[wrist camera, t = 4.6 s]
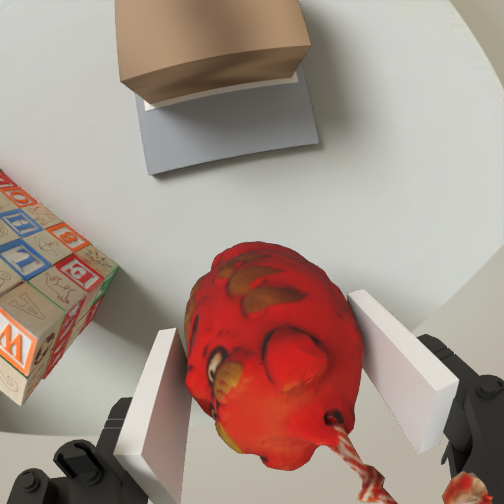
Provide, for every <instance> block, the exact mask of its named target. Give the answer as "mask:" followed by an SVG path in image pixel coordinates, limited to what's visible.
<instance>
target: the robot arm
mask: <svg viewBox="0 0 504 504" xmlns="http://www.w3.org/2000/svg"><path fill="white" fill-rule="evenodd" d="M347 302H348V305H349V307H350V309H351V311H352V313H353V316H354V319H355V321H356V323H357V326H358V328H359V330H360V333H361V338H362V344H363V359H362V367H363V369H364V370H365V372H366V373H367V375H368V377H369V378H370V379H371V381H372V383H373V384H374V386H375V387H376V389H377V390H378V392H379V393H380V395H381V396H382V398H383V400H384V401H385V403H386V404H387V406H388V407H389V408H390V410H391V412H392V414H393V415H394V417H395V418H396V419H397V421H398V423H399V425H400V426H401V428H402V429H403V431H404V432H405V434H406V436H407V437H408V439H409V440H410V442H411V444H412V445H413V447H414V448H415V450H416V452H417V453H418V454H421V453H423V452H425V451H427V450H429V449H431V448H433V447H435V446H437V445H439V444H440V441H441V438H442V436H443V433H444V434H445V435H446V437H447V438H448V439H449V442H448V445H447V447H446V450H445V453H444V455H443V457H442V461H441V465H442V464H444V463H445V461H446V459H447V457H448V460H449V466H450V473H451V479H452V478H454V477H455V476H457V475H458V474H460V473H461V472H462V471H464V472H466V473H472V472H473V473H474V474H475V475H476V476H477V477H478V478H479V479H480V480H481V481H482V482H483V483H484V485H485V486H486V489H487V491H488V495H489V496H492V497H493V498H492V500H491V502H492V504H504V381H503V380H502V379H501V378H498V377H497V376H493V375H481V376H479V375H478V374H477V373H476V372H475V371H474V370H473V369H471V368H470V367H469V366H468V365H467V364H466V363H465V362H464V361H463V360H461V359H460V358H459V357H458V356H457V355H456V354H454V352H453V351H451V350H450V349H449V348H447V346H446V345H445V344H444V343H442V342H441V341H440V340H439V339H437V338H435V337H432V336H430V335H428V334H424V335H422V336H419V337H415V336H414V335H413V334H412V333H411V332H410V331H409V330H407V329H406V328H405V327H404V326H403V325H402V324H401V323H400V322H399V321H398V320H397V319H396V318H395V317H394V316H392V315H391V314H390V313H389V312H388V311H387V310H386V309H385V308H384V307H383V306H382V305H381V304H379V303H378V302H377V301H376V300H375V299H374V298H373V297H372V296H371V295H369V294H368V293H367V292H366V291H365V290H364V289H362V290H358V291H354V292H350V293H347ZM187 366H188V364H187V358H186V355H185V352H184V349H183V346H182V343H181V340H180V337H179V334H178V331H177V328H171V329H165V330H159V332H158V334H157V337H156V339H155V342H154V344H153V347H152V349H151V352H150V354H149V357H148V359H147V362H146V364H145V367H144V370H143V372H142V375H141V377H140V380H139V383H138V385H137V388H136V391H135V393H134V396H133V397H128V398H121V399H120V400H119V401H118V402H117V403H116V404H115V405H114V406H113V407H112V409H111V411H110V414H109V416H108V420H107V421H106V423H105V426H104V429H103V430H102V433H101V435H100V438H99V440H98V443H97V445H96V447H95V446H94V445H93V444H92V443H91V442H89V441H86V440H83V439H82V440H73V441H70V442H67V443H65V444H64V445H63V446H61V447H60V448H59V449H58V450H57V452H56V453H55V455H54V459H53V461H54V462H55V463H56V465H57V466H58V467H59V468H60V469H61V470H62V472H64V474H65V475H66V476H67V477H59V478H51V479H50V478H49V477H48V476H47V475H46V474H45V473H44V472H43V471H42V470H40V469H37V468H32V469H27V470H25V471H23V472H22V473H21V474H20V475H18V477H17V479H16V480H15V482H14V485H13V488H12V490H11V493H10V496H9V499H8V501H7V504H147V503H148V498H149V499H150V500H151V501H152V502H153V503H154V504H180V500H181V491H182V481H183V471H184V470H183V469H184V461H185V452H186V443H187V434H188V426H189V418H190V410H191V402H192V396H191V394H190V392H189V390H188V388H187V386H186V384H185V380H186V375H187Z"/></svg>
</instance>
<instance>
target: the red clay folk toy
mask: <svg viewBox="0 0 504 504" xmlns="http://www.w3.org/2000/svg"><path fill="white" fill-rule="evenodd" d="M184 332H185V338H186V343H187V364H188V366H187V375H186V380H185V384H186V386H187V388H188V390H189V392H190V394H191V396H193V398H194V399H195V400H196V401H197V403H198V404H199V405H200V406H201V408H202V409H203V411H204V412H205V413H206V414H208V415H209V416H210V417H212V418H213V419H214V420H215V426H216V430H217V432H218V435H219V436H220V437H221V439H222V440H223V441H224V442H225V443H226V444H227V445H228V446H229V447H231V448H232V449H233V450H234V451H236V452H237V453H241V454H255V455H258V456H260V458H261V460H262V462H263V463H264V464H265V465H266V466H267V467H270V468H273V469H279V470H286V471H293V470H295V469H297V468H299V467H301V466H303V465H304V464H306V463H307V462H308V461H309V460H310V458H311V457H312V455H313V453H314V451H315V450H316V448H318V447H319V446H320V445H326V446H328V447H329V448H330V449H331V450H333V451H334V452H335V453H336V454H337V455H339V456H340V457H341V458H342V459H343V460H344V461H345V462H346V463H347V464H348V465H349V466H350V467H351V468H352V469H353V470H354V471H356V472H357V473H358V474H359V476H360V478H361V480H362V482H363V483H362V490H361V492H360V493H359V495H358V497H357V500H358V501H361V502H363V503H365V502H366V503H375V502H376V503H381V504H398V503H397V502H396V501H395V500H394V499H393V498H392V497H391V496H390V494H389V493H388V492H387V491H386V490H385V489H384V488H383V484H384V479H385V478H384V477H383V475H381V474H380V473H379V472H378V471H377V470H376V469H375V468H374V467H373V466H369V465H366V464H363V462H362V461H361V459H360V457H359V456H358V454H357V452H356V450H355V449H354V447H353V445H352V443H351V441H350V440H349V438H348V436H347V435H348V434H349V433H350V432H351V431H352V430H353V428H354V423H355V414H354V406H355V402H356V398H357V395H358V392H359V386H360V380H361V371H362V359H363V344H362V338H361V333H360V330H359V328H358V326H357V323H356V321H355V319H354V316H353V313H352V311H351V309H350V307H349V305H348V303H347V301H346V299H345V297H344V296H343V294H342V292H341V291H340V289H339V288H338V287H337V286H336V285H335V284H334V283H332V282H331V281H330V279H329V278H328V276H327V275H326V273H325V272H324V270H322V269H321V268H319V267H318V266H316V265H315V264H313V263H311V262H309V261H308V260H306V259H305V258H304V257H303V256H301V255H300V254H299V253H297V252H296V251H293V250H292V249H290V248H287V247H284V246H281V245H278V244H271V243H265V242H260V241H257V242H244V243H240V244H237V245H234V246H233V247H232V248H228V249H226V250H225V251H223V252H222V253H220V254H218V255H217V256H216V257H215V258H214V261H213V263H212V267H211V271H210V272H209V273H207V274H206V275H204V276H202V277H201V278H200V279H198V281H197V282H196V284H195V285H194V287H193V288H192V290H191V293H190V299H189V301H188V303H187V306H186V312H185V322H184ZM442 498H443V501H444V504H492V502H491V500H492V498H493V497H492V496H489V495H488V491H487V489H486V486H485V485H484V483H483V482H482V481H481V480H480V479H479V478H478V477H477V476H476V475H475V474H474V473H473V472H472V473H466V472H464V471H462V472H461V473H460V474H458V475H457V476H455V477H454V478H452V479H451V481H450V483H449V485H448V486H447V488H446V490H445V492H444V494H443V495H442Z"/></svg>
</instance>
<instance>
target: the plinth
mask: <svg viewBox="0 0 504 504" xmlns="http://www.w3.org/2000/svg"><path fill="white" fill-rule="evenodd" d="M115 23H116V40H117V53H118V65H119V75H120V82H122V83H123V84H124V85H126V86H127V87H128V88H129V89H131V90H132V91H133V92H135V93H136V94H137V95H139V96H140V97H141V98H142V99H144V100H145V101H146V102H148V103H149V104H153V103H157V102H161V101H164V100H168V99H172V98H176V97H180V96H184V95H189V94H193V93H197V92H202V91H207V90H212V89H217V88H222V87H227V86H233V85H239V84H245V83H252V82H259V81H266V80H274V79H283V78H292V76H293V75H294V73H295V71H296V70H297V68H298V66H299V65H300V63H301V61H302V60H303V58H304V57H305V55H306V53H307V52H308V50H309V48H310V47H311V42H310V38H309V35H308V31H307V28H306V24H305V21H304V18H303V14H302V11H301V8H300V5H299V1H298V0H115Z"/></svg>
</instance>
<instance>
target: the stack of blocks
mask: <svg viewBox="0 0 504 504" xmlns="http://www.w3.org/2000/svg"><path fill="white" fill-rule="evenodd" d="M118 267H119V265H118V264H116V263H115V262H114V261H112V260H111V259H110V258H108V257H107V256H105V255H104V254H103V253H101V252H100V251H99V250H98V249H96V248H95V247H94V246H92V245H91V244H90V242H89V241H87V240H86V239H85V238H83V237H82V236H81V235H79V234H78V233H77V232H76V231H74V230H73V229H72V228H70V227H69V226H68V225H67V224H65V223H64V222H63V221H62V220H60V219H59V218H58V217H57V216H56V215H54V214H53V213H52V212H51V211H50V210H48V209H47V208H46V207H45V206H43V205H42V204H40V203H38V202H37V201H36V200H34V199H33V198H32V197H30V196H29V195H28V194H27V193H26V192H25V191H24V190H23V189H21V188H20V187H18V186H17V185H16V184H15V183H14V182H13V181H12V180H10V179H9V178H8V177H7V176H6V175H5V174H4V173H3V172H1V171H0V390H1V391H2V392H4V393H5V394H6V395H7V396H8V397H9V398H11V399H12V400H13V401H14V402H15V403H17V404H18V405H20V406H22V405H23V404H24V402H25V401H26V400H27V398H28V397H29V396H30V394H31V393H32V391H33V390H34V389H35V387H36V386H37V385H38V384H39V382H40V381H41V379H45V378H46V377H47V375H48V374H49V373H50V372H51V370H52V369H53V368H54V366H55V365H56V364H57V363H58V361H59V360H60V359H61V357H62V356H63V354H64V353H65V351H66V350H67V349H68V348H69V346H70V345H71V344H72V343H73V341H74V340H75V339H76V337H77V336H78V335H79V334H80V333H81V332H82V331H83V330H84V328H85V327H86V326H87V325H88V324H89V323H90V322H91V320H92V318H93V316H94V314H95V312H96V310H97V308H98V306H99V304H100V302H101V300H102V298H103V296H104V293H105V291H106V289H107V287H108V285H109V284H110V282H111V280H112V278H113V276H114V274H115V272H116V271H117V269H118Z"/></svg>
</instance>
